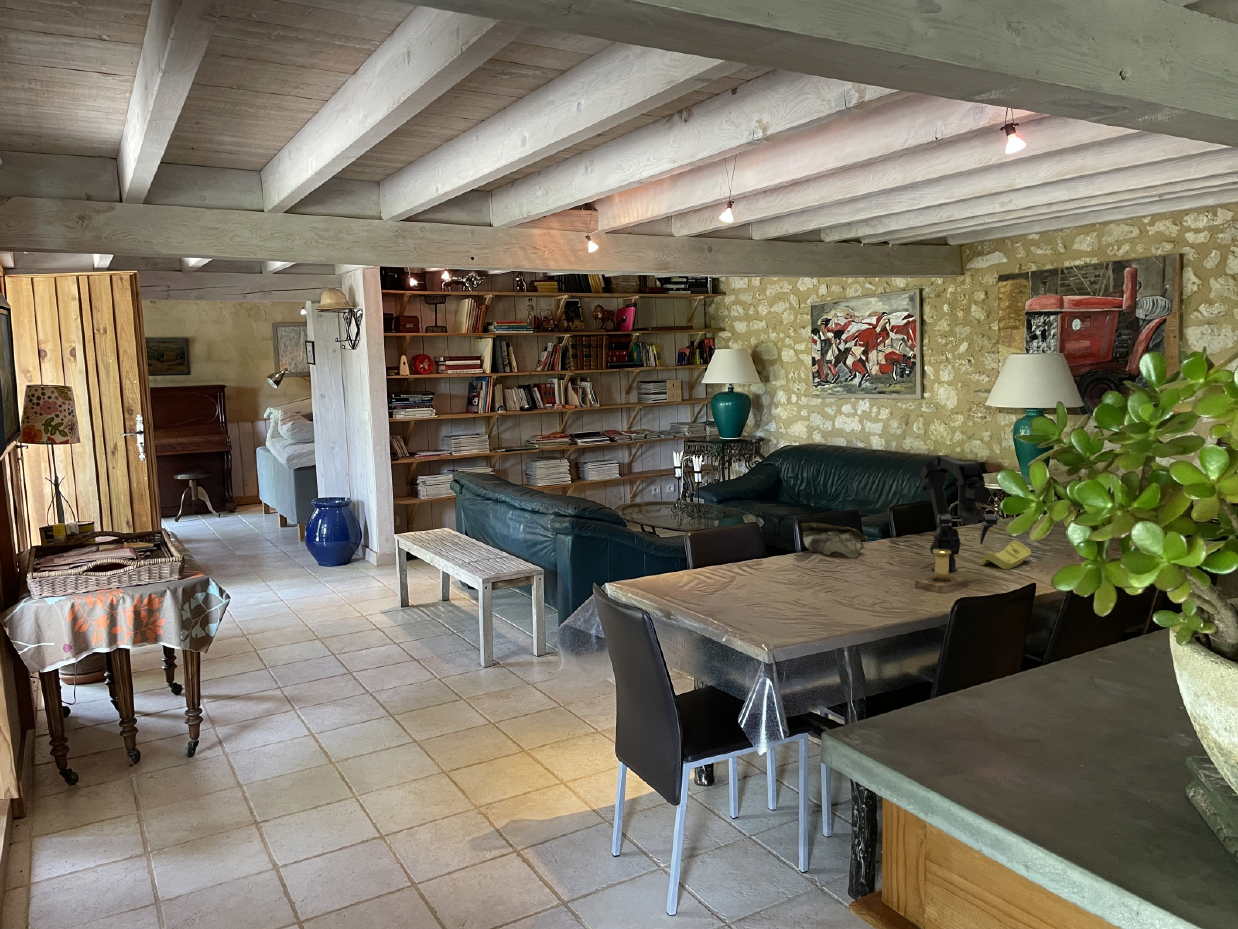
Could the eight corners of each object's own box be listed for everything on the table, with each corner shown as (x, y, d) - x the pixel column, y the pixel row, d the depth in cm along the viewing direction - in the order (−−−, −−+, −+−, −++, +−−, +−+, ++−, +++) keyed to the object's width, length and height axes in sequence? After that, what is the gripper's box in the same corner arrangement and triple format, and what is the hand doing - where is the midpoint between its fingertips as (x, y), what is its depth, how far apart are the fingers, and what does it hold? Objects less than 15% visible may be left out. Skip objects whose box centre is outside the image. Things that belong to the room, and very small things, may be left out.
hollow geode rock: (801, 561, 370) (785, 539, 362) (813, 536, 376) (798, 514, 368) (861, 568, 350) (846, 545, 342) (873, 542, 356) (858, 519, 348)
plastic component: (1009, 564, 322) (985, 549, 328) (1001, 580, 325) (977, 565, 331) (1035, 551, 334) (1011, 537, 340) (1027, 567, 338) (1003, 553, 344)
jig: (915, 587, 303) (915, 580, 302) (939, 580, 311) (939, 574, 311) (943, 593, 294) (943, 586, 294) (968, 586, 302) (968, 579, 302)
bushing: (929, 586, 303) (929, 550, 302) (939, 583, 307) (939, 548, 305) (944, 590, 299) (944, 553, 297) (954, 587, 302) (954, 550, 301)
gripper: (941, 502, 301) (940, 548, 302) (1000, 502, 296) (1000, 549, 298) (937, 497, 311) (937, 542, 313) (994, 497, 307) (994, 542, 309)
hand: (966, 544), depth 308 cm, fingers open, 9 cm apart
